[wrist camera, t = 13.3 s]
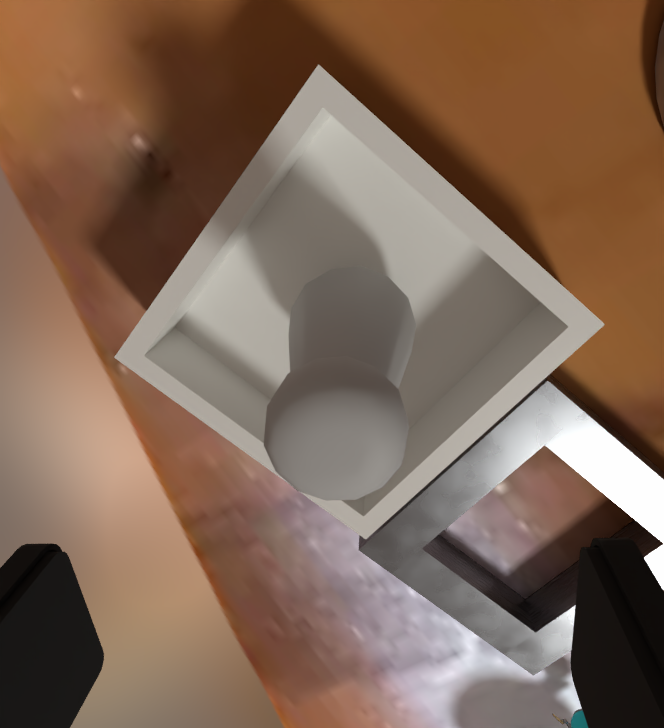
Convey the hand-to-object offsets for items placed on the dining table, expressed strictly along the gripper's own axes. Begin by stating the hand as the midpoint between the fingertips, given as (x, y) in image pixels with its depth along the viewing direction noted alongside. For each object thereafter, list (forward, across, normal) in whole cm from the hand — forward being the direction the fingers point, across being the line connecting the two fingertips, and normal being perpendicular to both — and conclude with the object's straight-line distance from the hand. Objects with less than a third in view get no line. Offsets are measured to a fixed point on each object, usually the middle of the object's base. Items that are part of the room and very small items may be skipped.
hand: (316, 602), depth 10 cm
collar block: (+20, -8, +14) cm, 25 cm away
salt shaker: (+19, +1, 0) cm, 19 cm away
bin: (+20, +1, 0) cm, 20 cm away
